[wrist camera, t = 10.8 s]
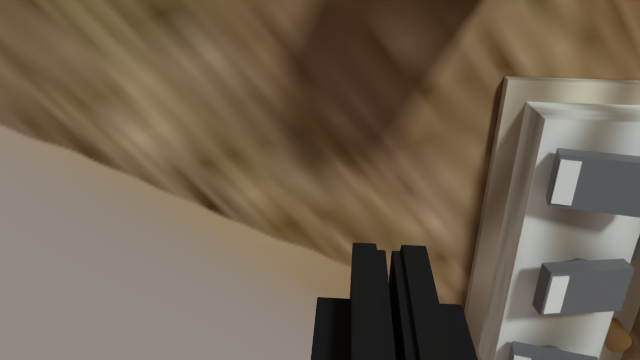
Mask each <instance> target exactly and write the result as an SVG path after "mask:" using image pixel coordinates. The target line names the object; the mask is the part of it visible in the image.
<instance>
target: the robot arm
mask: <svg viewBox="0 0 640 360" xmlns="http://www.w3.org/2000/svg"><path fill="white" fill-rule="evenodd" d="M311 360H478V358H477V355H476V351H475V348H474V345H473V341H472V338H471V334H470V331H469V328H468V324H467V321H466V317H465V314H464V311H463V308H462V306H461V305H455V304H439V300H438V296H437V292H436V287H435V283H434V279H433V274H432V270H431V266H430V261H429V257H428V253H427V249H426V246H413V245H401V249H400V251H392V255H391V265H390V276H389V283H388V273H387V263H386V253H385V250H377V247H376V244H371V243H353V248H352V267H351V287H350V299H342V298H321V297H318V299H317V306H316V316H315V325H314V336H313V344H312V354H311Z"/></svg>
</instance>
